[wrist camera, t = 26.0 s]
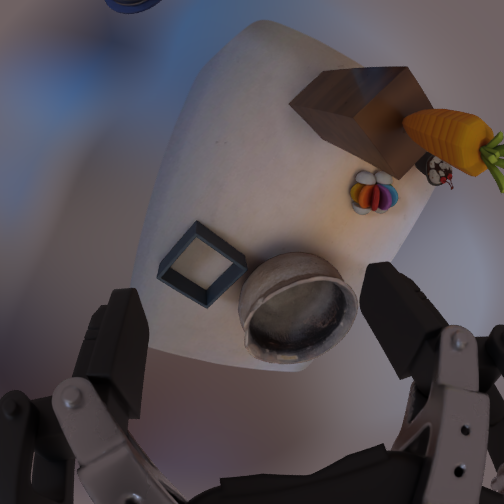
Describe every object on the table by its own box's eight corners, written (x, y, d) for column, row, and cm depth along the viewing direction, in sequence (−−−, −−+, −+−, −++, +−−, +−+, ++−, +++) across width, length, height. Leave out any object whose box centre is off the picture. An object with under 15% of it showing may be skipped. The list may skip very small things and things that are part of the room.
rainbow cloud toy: (348, 169, 52) (366, 181, 46) (389, 169, 53) (410, 181, 47) (345, 209, 56) (361, 225, 50) (384, 207, 57) (403, 222, 51)
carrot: (403, 154, 27) (511, 214, 14) (376, 121, 25) (495, 166, 12) (428, 123, 25) (539, 168, 12) (403, 89, 23) (525, 116, 10)
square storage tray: (159, 263, 57) (156, 278, 53) (196, 220, 53) (195, 232, 49) (206, 293, 62) (207, 308, 58) (244, 255, 59) (248, 269, 54)
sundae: (399, 174, 54) (445, 201, 41) (392, 144, 50) (441, 166, 38) (422, 163, 53) (468, 188, 40) (416, 135, 50) (466, 154, 37)
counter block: (288, 103, 45) (352, 117, 24) (323, 71, 42) (407, 66, 22) (322, 139, 48) (399, 180, 28) (355, 107, 46) (445, 130, 26)
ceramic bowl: (243, 228, 56) (254, 274, 43) (344, 239, 60) (377, 280, 47) (228, 315, 66) (234, 367, 54) (315, 317, 71) (335, 363, 58)
